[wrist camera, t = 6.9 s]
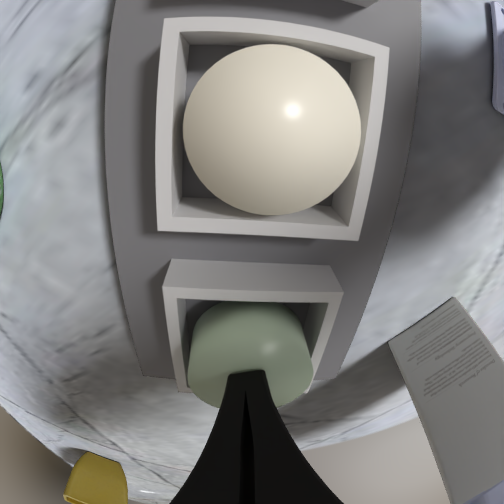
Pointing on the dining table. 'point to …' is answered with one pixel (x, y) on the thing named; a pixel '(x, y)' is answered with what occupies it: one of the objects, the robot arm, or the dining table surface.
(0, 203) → the ramekin
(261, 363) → the sage button
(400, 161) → the button panel
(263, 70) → the cream button
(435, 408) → the skincare box
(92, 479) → the flower pot
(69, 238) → the dining table surface
